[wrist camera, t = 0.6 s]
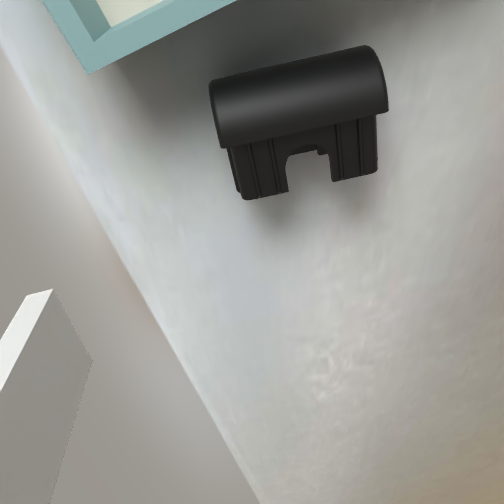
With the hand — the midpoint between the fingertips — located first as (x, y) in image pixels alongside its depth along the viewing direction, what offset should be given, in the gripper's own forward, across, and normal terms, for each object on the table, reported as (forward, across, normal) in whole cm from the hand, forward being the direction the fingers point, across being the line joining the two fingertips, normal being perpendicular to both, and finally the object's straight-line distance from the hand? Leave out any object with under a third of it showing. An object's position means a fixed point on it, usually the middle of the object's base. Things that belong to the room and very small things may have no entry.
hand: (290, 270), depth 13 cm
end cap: (+22, +4, 0) cm, 22 cm away
